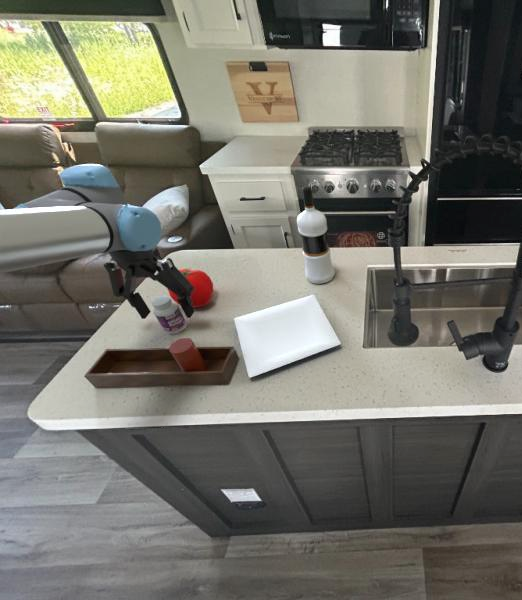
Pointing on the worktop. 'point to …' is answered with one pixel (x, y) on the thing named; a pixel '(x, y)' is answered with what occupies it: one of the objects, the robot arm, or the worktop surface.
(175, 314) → the pill bottle
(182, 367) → the spice tin
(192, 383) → the wooden tray
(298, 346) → the plate
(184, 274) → the tomato
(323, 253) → the vodka
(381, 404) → the worktop surface
